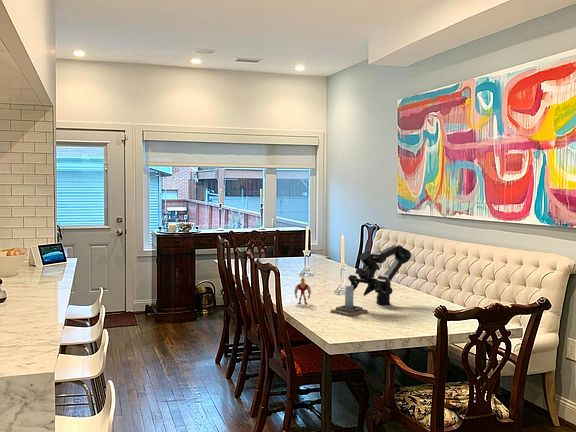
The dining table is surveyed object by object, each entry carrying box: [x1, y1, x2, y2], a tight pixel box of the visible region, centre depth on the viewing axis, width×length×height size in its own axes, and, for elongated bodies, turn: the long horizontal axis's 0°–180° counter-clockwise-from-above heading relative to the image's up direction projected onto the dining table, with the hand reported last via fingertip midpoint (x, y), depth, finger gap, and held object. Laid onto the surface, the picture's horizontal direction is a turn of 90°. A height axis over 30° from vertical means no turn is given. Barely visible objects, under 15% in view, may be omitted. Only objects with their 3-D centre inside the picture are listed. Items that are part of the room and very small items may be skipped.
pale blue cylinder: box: [344, 284, 355, 310], centre depth 303 cm, size 4×4×13 cm
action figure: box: [294, 277, 312, 305], centre depth 324 cm, size 10×4×15 cm, turn 88°
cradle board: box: [330, 304, 369, 317], centre depth 303 cm, size 14×14×3 cm
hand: (357, 294), depth 308 cm, fingers open, 9 cm apart
